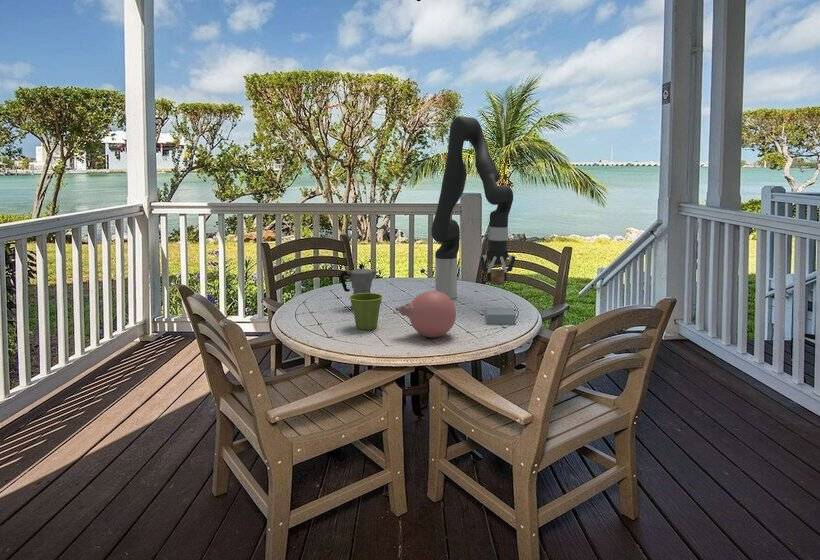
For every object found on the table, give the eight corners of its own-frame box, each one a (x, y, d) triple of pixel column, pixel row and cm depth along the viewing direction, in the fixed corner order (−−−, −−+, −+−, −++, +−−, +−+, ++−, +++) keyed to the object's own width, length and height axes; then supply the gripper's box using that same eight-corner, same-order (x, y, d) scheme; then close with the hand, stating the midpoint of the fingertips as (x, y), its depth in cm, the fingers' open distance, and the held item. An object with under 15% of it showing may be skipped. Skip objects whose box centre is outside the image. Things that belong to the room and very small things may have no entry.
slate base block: (486, 325, 210) (487, 314, 209) (485, 318, 219) (485, 307, 219) (515, 325, 209) (515, 314, 208) (512, 318, 219) (512, 308, 218)
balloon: (397, 329, 204) (396, 286, 201) (455, 330, 203) (455, 286, 200) (393, 343, 189) (392, 296, 186) (456, 343, 187) (456, 296, 185)
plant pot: (343, 330, 204) (342, 298, 202) (360, 322, 215) (359, 291, 212) (374, 333, 199) (373, 301, 197) (389, 325, 210) (388, 294, 208)
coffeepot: (375, 304, 241) (374, 261, 237) (381, 310, 232) (380, 264, 229) (338, 307, 236) (336, 263, 233) (342, 313, 228) (341, 267, 224)
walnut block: (491, 284, 227) (491, 271, 226) (489, 281, 232) (489, 269, 231) (504, 284, 228) (504, 271, 226) (501, 281, 232) (502, 269, 231)
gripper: (514, 237, 230) (512, 279, 234) (478, 237, 230) (476, 279, 233) (518, 239, 223) (516, 283, 226) (480, 239, 222) (479, 283, 226)
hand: (496, 281), depth 230 cm, fingers closed on walnut block, 5 cm apart
